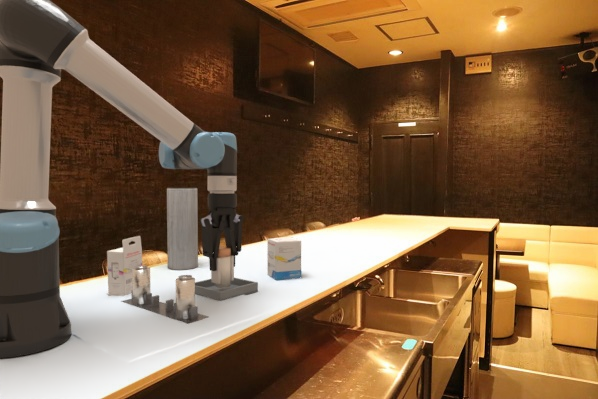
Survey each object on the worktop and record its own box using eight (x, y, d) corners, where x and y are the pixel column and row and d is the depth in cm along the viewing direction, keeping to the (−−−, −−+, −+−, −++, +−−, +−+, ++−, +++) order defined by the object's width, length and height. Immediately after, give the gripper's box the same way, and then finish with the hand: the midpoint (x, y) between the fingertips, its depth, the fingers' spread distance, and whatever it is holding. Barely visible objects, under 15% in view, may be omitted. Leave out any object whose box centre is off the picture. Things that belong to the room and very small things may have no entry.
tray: (220, 302, 104) (220, 292, 104) (187, 293, 112) (187, 284, 112) (257, 291, 114) (257, 282, 114) (224, 284, 122) (224, 275, 122)
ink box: (302, 278, 130) (302, 239, 130) (275, 280, 127) (275, 241, 127) (292, 272, 138) (292, 236, 138) (266, 274, 135) (266, 237, 135)
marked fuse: (222, 288, 110) (222, 250, 110) (211, 286, 113) (211, 248, 112) (234, 285, 113) (233, 248, 113) (223, 283, 116) (223, 246, 116)
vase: (161, 269, 143) (160, 188, 142) (177, 263, 153) (176, 187, 151) (189, 270, 140) (188, 188, 139) (203, 265, 150) (202, 187, 149)
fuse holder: (187, 325, 87) (187, 281, 87) (120, 302, 104) (120, 265, 103) (209, 318, 92) (209, 277, 91) (141, 297, 108) (141, 262, 108)
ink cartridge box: (126, 288, 118) (126, 234, 117) (143, 289, 117) (142, 235, 116) (106, 296, 109) (105, 239, 109) (124, 297, 108) (123, 239, 108)
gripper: (205, 193, 103) (206, 289, 104) (255, 192, 116) (255, 277, 117) (186, 192, 108) (187, 285, 109) (236, 191, 121) (236, 273, 122)
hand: (222, 280), depth 113 cm, fingers closed on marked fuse, 4 cm apart
